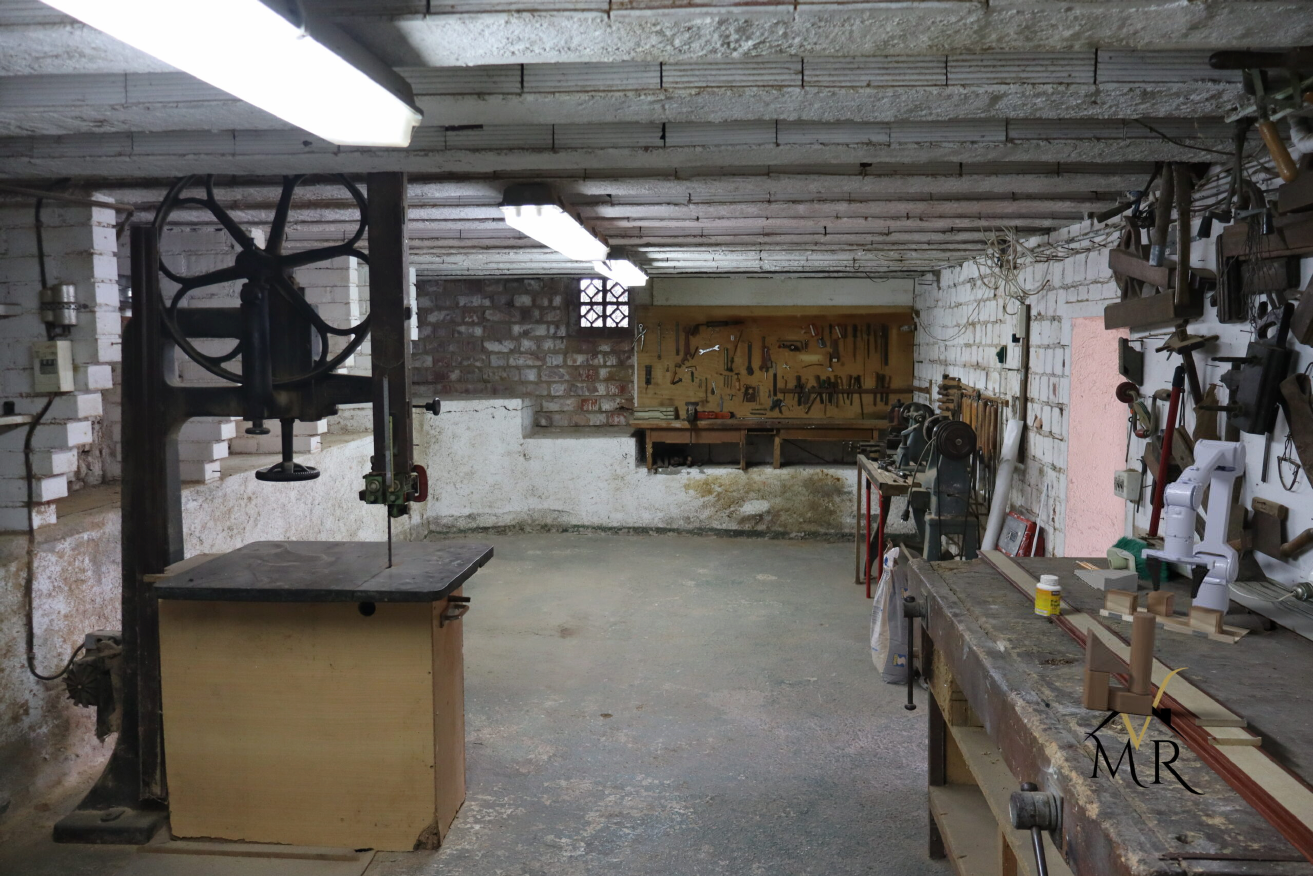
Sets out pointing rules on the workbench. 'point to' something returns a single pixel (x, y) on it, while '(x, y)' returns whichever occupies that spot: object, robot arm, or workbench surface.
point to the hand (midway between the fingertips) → (1174, 594)
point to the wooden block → (1121, 670)
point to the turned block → (1160, 603)
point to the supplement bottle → (1048, 596)
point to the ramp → (1109, 579)
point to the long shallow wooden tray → (1184, 626)
